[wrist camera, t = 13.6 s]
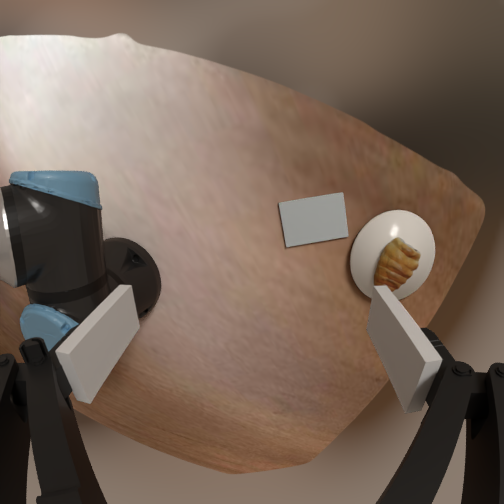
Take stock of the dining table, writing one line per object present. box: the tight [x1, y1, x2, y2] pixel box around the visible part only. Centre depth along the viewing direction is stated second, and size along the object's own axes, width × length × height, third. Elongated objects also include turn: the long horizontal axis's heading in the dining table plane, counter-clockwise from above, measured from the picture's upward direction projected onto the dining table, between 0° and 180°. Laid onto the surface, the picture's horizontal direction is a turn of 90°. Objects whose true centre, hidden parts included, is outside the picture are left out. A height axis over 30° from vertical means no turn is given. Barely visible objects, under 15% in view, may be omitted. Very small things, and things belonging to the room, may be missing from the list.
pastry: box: [374, 237, 421, 292], centre depth 44 cm, size 9×7×4 cm
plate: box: [350, 210, 435, 300], centre depth 46 cm, size 16×16×1 cm
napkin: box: [279, 192, 348, 247], centre depth 46 cm, size 10×7×1 cm
